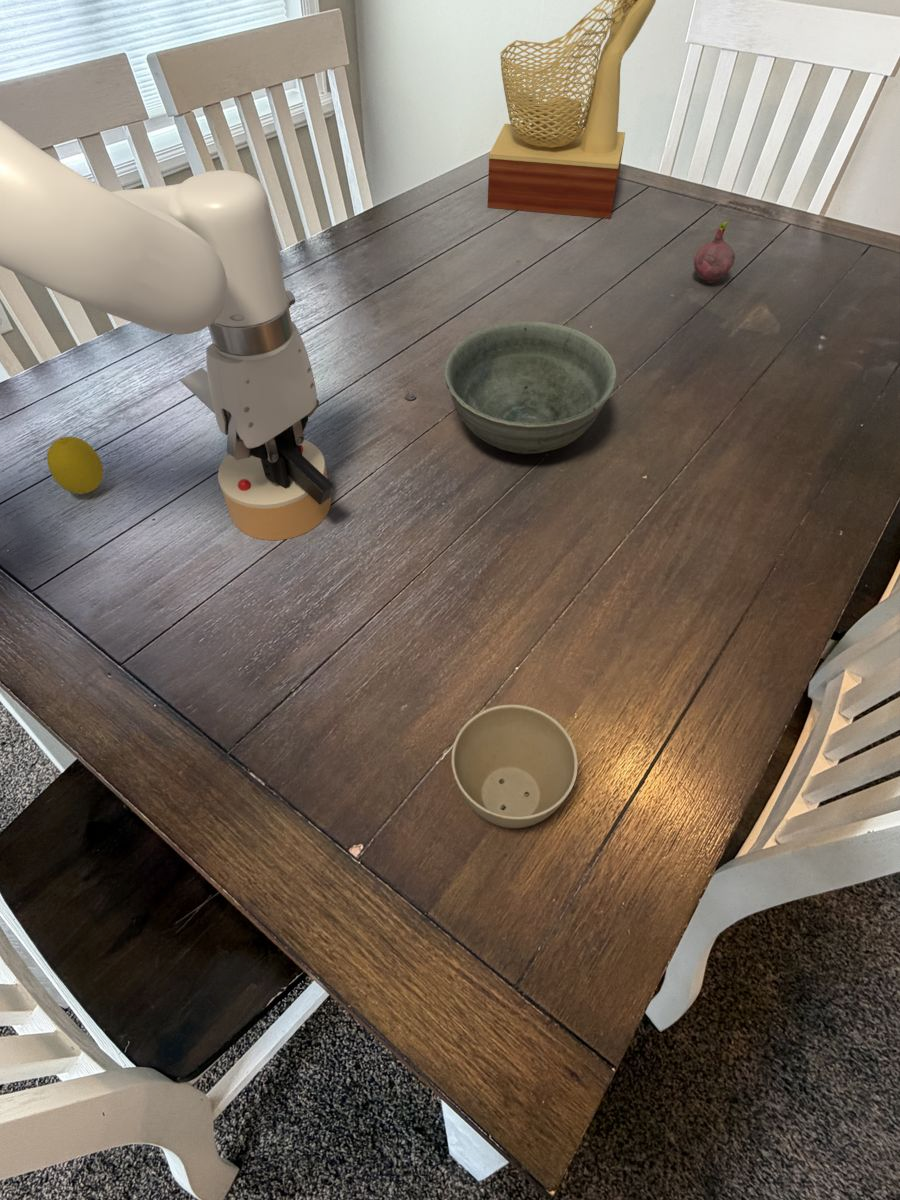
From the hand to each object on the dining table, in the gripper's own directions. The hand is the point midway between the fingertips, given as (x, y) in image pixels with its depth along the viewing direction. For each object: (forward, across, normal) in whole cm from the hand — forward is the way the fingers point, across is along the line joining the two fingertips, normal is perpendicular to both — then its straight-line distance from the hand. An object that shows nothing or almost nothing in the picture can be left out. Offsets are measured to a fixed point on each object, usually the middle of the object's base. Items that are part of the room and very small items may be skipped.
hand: (286, 475), depth 82 cm
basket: (+6, -93, -24) cm, 96 cm away
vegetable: (+6, -80, +14) cm, 81 cm away
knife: (-3, 0, -3) cm, 4 cm away
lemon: (+6, +13, -22) cm, 27 cm away
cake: (+6, 0, -2) cm, 6 cm away
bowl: (+6, -29, +13) cm, 32 cm away
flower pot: (+6, +13, +41) cm, 43 cm away
